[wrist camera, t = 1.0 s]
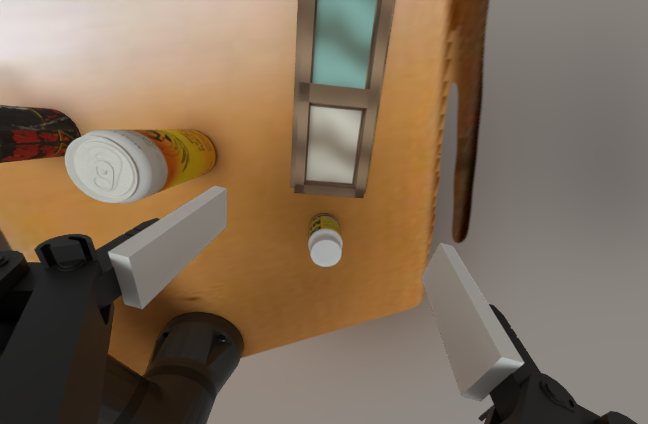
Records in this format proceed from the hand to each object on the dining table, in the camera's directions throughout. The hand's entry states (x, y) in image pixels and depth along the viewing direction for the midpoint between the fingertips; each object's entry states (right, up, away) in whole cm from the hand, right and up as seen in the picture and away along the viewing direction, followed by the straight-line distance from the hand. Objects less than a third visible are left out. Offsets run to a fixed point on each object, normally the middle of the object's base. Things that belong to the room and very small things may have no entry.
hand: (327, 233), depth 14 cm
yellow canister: (-18, +10, +18) cm, 28 cm away
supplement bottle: (0, -1, +23) cm, 23 cm away
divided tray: (+1, +16, +16) cm, 23 cm away
